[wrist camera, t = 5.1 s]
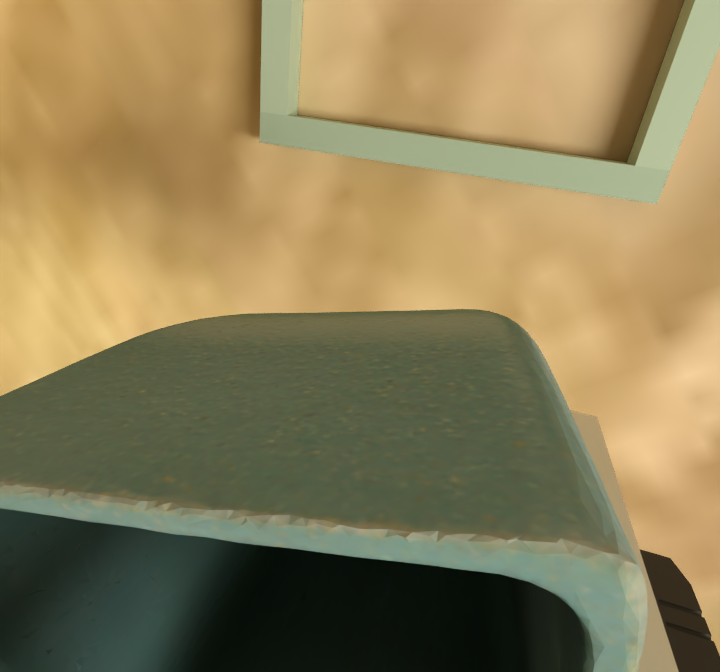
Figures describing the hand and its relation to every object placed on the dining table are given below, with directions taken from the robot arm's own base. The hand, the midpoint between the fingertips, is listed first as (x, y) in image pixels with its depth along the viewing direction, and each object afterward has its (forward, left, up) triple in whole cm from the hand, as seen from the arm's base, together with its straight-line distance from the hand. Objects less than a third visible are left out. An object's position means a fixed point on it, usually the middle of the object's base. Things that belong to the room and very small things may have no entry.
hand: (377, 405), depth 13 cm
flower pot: (0, 0, -1) cm, 1 cm away
